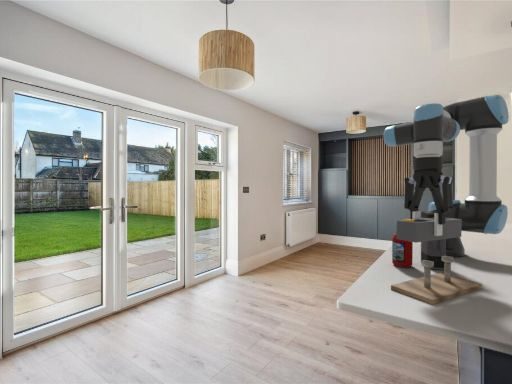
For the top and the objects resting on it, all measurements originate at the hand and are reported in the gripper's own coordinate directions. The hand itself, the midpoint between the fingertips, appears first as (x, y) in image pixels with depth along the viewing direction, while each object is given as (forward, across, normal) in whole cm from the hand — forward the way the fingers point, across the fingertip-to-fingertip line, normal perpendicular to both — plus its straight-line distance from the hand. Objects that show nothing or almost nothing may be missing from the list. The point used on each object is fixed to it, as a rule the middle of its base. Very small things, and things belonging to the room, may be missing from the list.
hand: (426, 233), depth 85 cm
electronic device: (+15, -11, +21) cm, 28 cm away
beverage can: (+15, -17, +12) cm, 26 cm away
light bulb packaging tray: (+1, 0, +2) cm, 2 cm away
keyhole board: (+15, +4, -1) cm, 16 cm away
